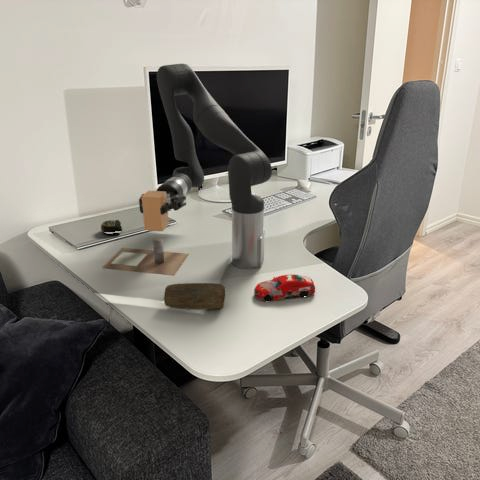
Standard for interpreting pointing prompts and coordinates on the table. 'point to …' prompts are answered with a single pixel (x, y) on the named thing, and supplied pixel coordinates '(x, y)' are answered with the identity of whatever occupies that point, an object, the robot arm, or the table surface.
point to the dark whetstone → (195, 296)
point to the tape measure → (111, 226)
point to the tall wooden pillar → (154, 210)
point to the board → (147, 260)
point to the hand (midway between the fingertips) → (151, 210)
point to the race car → (285, 288)
